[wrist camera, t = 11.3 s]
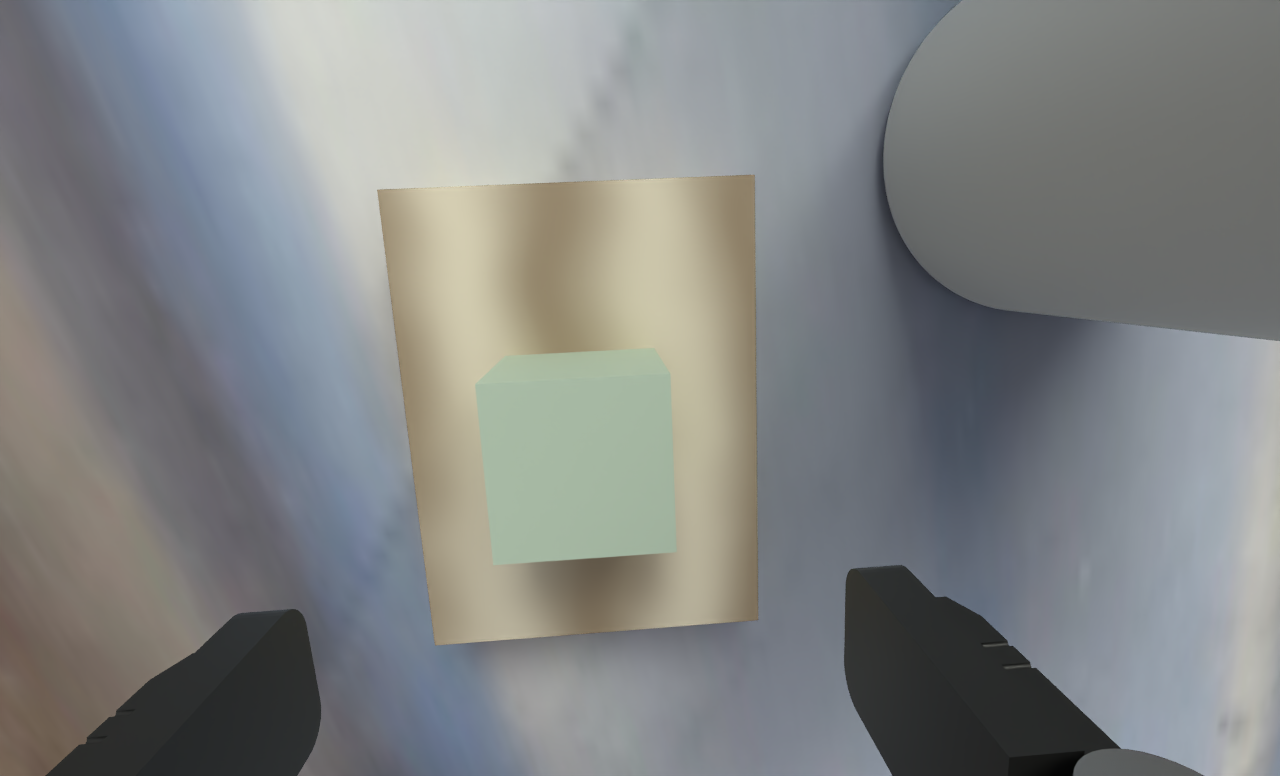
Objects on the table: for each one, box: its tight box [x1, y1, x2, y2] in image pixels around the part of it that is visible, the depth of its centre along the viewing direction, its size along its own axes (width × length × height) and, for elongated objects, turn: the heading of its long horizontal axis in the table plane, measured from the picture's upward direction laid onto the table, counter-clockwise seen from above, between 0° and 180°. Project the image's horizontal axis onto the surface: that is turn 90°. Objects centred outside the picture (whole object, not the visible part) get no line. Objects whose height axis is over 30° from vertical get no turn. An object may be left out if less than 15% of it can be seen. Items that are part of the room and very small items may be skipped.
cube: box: [475, 348, 677, 565], centre depth 19 cm, size 5×5×5 cm
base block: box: [377, 175, 758, 645], centre depth 23 cm, size 12×16×4 cm
